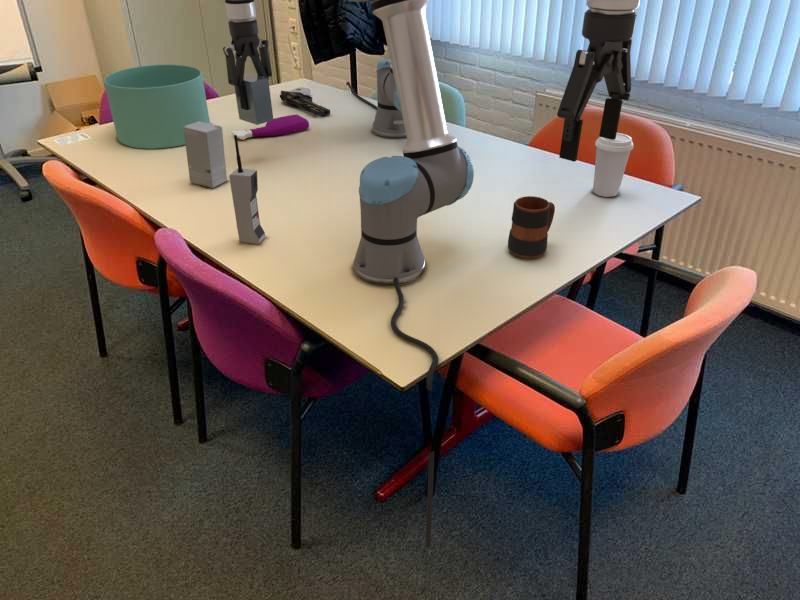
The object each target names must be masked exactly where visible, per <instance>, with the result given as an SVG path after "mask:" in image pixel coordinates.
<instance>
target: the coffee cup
mask: <svg viewBox="0 0 800 600" xmlns="http://www.w3.org/2000/svg"><path fill="white" fill-rule="evenodd" d="M594 146H596V149H595V163H594V164H595V165H594V174H593V187H592V192H593V193H594V194H595V195H597V196H600V197H604V198H612V197H616V196H618V194H619V192H620V187H621V185H622V182H623V178H624V174H625V171H626V168H627V164H628V161H629V159H630V158H629V157H630V154H631V151H632V150H633V149H634V142H633V139H632V137H631V136H629V135H628V134H625V133H621V132H617V134H616V139H614V140H612V139H607V138H603V137H599V136H598V138H597V139H596V140H595V142H594Z"/></svg>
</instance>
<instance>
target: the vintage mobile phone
mask: <svg viewBox="0 0 800 600" xmlns="http://www.w3.org/2000/svg"><path fill="white" fill-rule="evenodd" d="M233 139H234V145H235V154H236V164H237V168H235V169H234V170H233V171H232V172H231V173H230V174H229V175H228V177H229V178H228V179H229V184H230V189H231V195H232V203H233V210H234V216H235V223H236V230H237V235H238V241H239V242H240V243H245V244H254V245H255V244H256V245H259V244H261V242H262V241H263V240H264V239H265V238H266V232H265V230H264V229H263V226H262V225H261V221H260V213H259V206H258V198H257V193H258V191H259V187H258V186H259V185H258V170H257V169H249V168H243V165H242V158H241V155H240V148H239V142H238V138H237V135H233Z"/></svg>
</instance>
